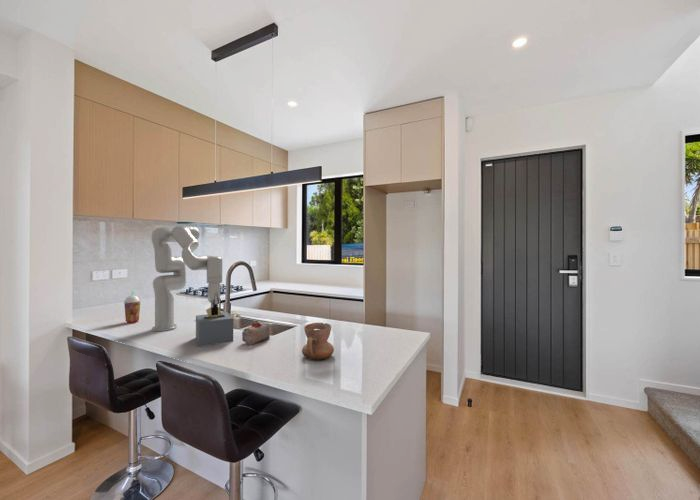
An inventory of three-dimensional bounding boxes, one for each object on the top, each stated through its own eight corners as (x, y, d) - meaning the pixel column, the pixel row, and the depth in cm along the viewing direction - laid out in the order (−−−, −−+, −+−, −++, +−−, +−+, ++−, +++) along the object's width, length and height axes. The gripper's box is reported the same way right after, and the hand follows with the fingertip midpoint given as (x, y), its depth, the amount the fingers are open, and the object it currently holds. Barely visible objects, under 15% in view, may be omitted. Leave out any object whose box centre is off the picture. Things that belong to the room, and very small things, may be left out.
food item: (252, 346, 149) (252, 326, 149) (240, 343, 153) (240, 324, 152) (271, 338, 161) (271, 320, 161) (259, 336, 165) (260, 318, 165)
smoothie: (120, 323, 187) (120, 291, 186) (132, 320, 195) (132, 289, 194) (132, 324, 185) (132, 292, 185) (143, 321, 193) (143, 290, 193)
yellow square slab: (205, 310, 157) (216, 304, 160) (210, 319, 159) (221, 313, 161) (205, 310, 155) (217, 304, 158) (211, 320, 157) (222, 314, 160)
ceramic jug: (313, 348, 147) (312, 319, 147) (340, 352, 142) (339, 322, 141) (293, 362, 131) (292, 330, 130) (322, 367, 125) (322, 333, 125)
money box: (195, 337, 161) (195, 315, 161) (227, 333, 170) (227, 312, 170) (199, 346, 148) (199, 322, 148) (233, 341, 156) (233, 318, 156)
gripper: (204, 278, 163) (204, 312, 163) (208, 282, 150) (208, 318, 150) (219, 278, 167) (219, 310, 167) (224, 281, 154) (224, 316, 154)
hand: (214, 314), depth 159 cm, fingers closed on yellow square slab, 1 cm apart
